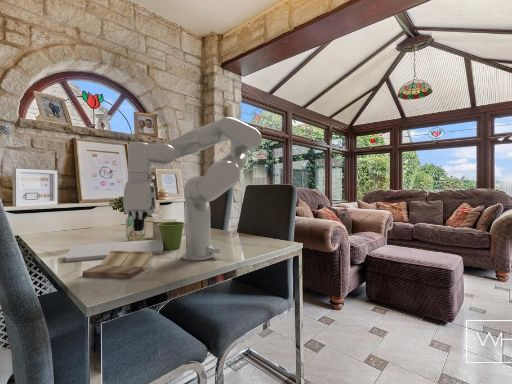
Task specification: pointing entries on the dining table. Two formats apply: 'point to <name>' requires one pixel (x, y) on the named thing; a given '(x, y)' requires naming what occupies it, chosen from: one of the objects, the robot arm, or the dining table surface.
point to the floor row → (112, 271)
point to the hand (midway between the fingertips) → (138, 230)
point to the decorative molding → (111, 249)
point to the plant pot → (171, 234)
